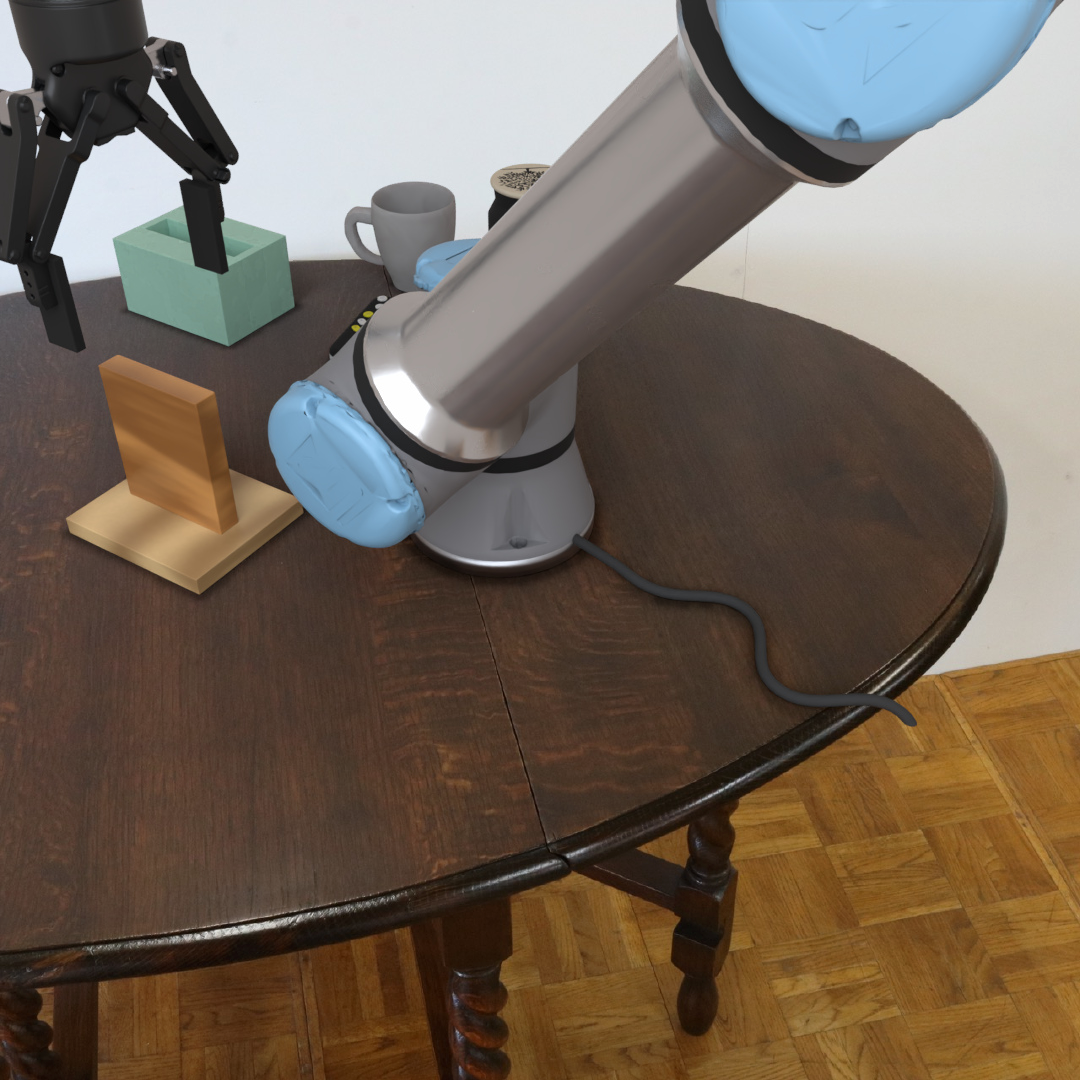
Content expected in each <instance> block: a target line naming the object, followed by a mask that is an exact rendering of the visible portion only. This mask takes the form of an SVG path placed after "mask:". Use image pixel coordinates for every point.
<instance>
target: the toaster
mask: <svg viewBox="0 0 1080 1080" xmlns="http://www.w3.org/2000/svg"><path fill="white" fill-rule="evenodd" d="M221 227H222V233H223V239H224V245H225V250H226V256H227V262H228V268H229V271H228V272H226V273H224V274H223V275H221V274H218V273H215V272H211V271H208V270H205V269H202V268H199V267H196V266H195V264H194V259H193V254H192V248H191V243H190V238H189V232H188V227H187V222H186V216H185V211H184V206H183V204H182V205H180V206H178V207H176V208H174V209H172V210H170V211H167V212H165V213H163V214H161V215H160V216H157V217H155V218H153V219H151V220H149V221H147V222H145V223H142V224H140V225H139V226H136V227H133V228H132V229H129V230H127V231H125V232H123V233H120V234H119V235H116V236H114V237H113V238H112V243H113V249H114V252H115V257H116V261H117V266H118V269H119V275H120V278H121V283H122V288H123V292H124V297H125V301H126V306H127V310H128V311H130V312H132V313H135V314H137V315H141V316H143V317H147V318H149V319H151V320H155V321H158V322H160V323H162V324H165V325H168V326H171V327H174V328H176V329H180V330H182V331H185V332H188V333H191V334H193V335H196V336H199V337H202V338H205V339H207V340H210V341H213V342H215V343H218V344H220V345H224V346H225V347H230V346H232V345H234V344H235V343H237V342H239V341H240V340H242V339H243V338H245V337H247V336H248V335H250V334H252V333H253V332H255V331H257V330H259V329H260V328H262V327H264V326H265V325H267V324H269V323H270V322H272V321H273V320H275V319H277V318H279V317H280V316H282V315H284V314H286V313H287V312H289V311H290V310H292V309H294V308H295V298H294V297H295V296H294V290H293V283H292V274H291V267H290V260H289V259H290V258H289V251H288V250H289V249H288V242H287V235H285V234H282V233H279V232H276V231H272V230H268V229H265V228H262V227H258V226H255V225H252V224H248V223H246V222H243V221H239V220H236V219H232V218H229V217H226V216H225V217H224V221H223V222H221Z"/></svg>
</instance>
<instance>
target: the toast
mask: <svg viewBox="0 0 1080 1080" xmlns="http://www.w3.org/2000/svg"><path fill="white" fill-rule="evenodd" d="M98 370H99V375H100V378H101V381H102V385H103V389H104V394H105V397H106V402H107V406H108V411H109V414H110V419H111V422H112V426H113V429H114V434H115V438H116V441H117V445H118V449H119V453H120V458H121V461H122V466H123V470H124V474H125V477H126V478H125V479H127V482H128V486H129V490H130V493H131V494H133V495H135V496H137V497H139V498H141V499H144V500H146V501H148V502H150V503H152V504H155V505H157V506H159V507H161V508H163V509H166V510H168V511H170V512H172V513H174V514H177V515H179V516H181V517H183V518H186V519H188V520H190V521H192V522H194V523H197V524H199V525H201V526H203V527H205V528H208V529H210V530H212V531H214V532H216V533H219V534H223V533H224V532H226V531H227V530H228V529H230V528H231V527H232V526H234V525H235V524H236V523H238V516H237V510H236V505H235V499H234V494H233V488H232V483H231V477H230V472H229V469H230V468H229V463H228V462H229V461H228V457H227V451H226V445H225V439H224V434H223V429H222V422H221V418H220V417H221V416H220V413H219V406H218V402H217V396H216V392H215V391H213V390H210V389H208V388H205V387H203V386H200V385H197V384H195V383H192V382H190V381H188V380H185V379H182V378H180V377H177V376H175V375H172V374H170V373H167V372H164V371H162V370H159V369H157V368H154V367H153V366H152V367H151V366H149V365H146V364H144V363H141V362H139V361H136V360H134V359H131V358H128V357H126V356H123V355H122V354H121V355H120V354H116V355H114V356H112V357H111V358H108V359H107V360H105V361H103V362H101V363H100V364H98Z"/></svg>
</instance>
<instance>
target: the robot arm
mask: <svg viewBox="0 0 1080 1080" xmlns="http://www.w3.org/2000/svg"><path fill="white" fill-rule="evenodd" d="M7 1H8V4H9V5H8V6H9V9H10V12H11V16H12V20H13V24H14V25H13V26H14V29H15V33H16V36H17V40H18V44H19V47H20V50H21V52H22V53H23V55H24V57H25V58H26V60H27V61H28V63H29V65H30V68H31V84H30V87H29V88H24V89H18V90H14V91H13V90H12V91H10V90H6V89H3V88H0V261H1V262H4V263H7V264H9V265H13V266H17V270H18V273H19V277H20V281H21V284H22V287H23V290H24V295H25V298H26V300H27V302H28V303H29V304H30V305H31V306H34V307H36V308H39V311H40V315H41V318H42V322H43V326H44V329H45V332H46V336H47V339H48V342H49V343H50V344H53V345H55V346H58V347H60V348H63V349H65V350H68V351H71V352H74V353H76V354H78V353H81V352H82V351H85V350H86V349H87V346H86V342H85V338H84V334H83V330H82V326H81V323H80V319H79V315H78V311H77V308H76V304H75V301H74V296H73V292H72V289H71V285H70V281H69V276H68V274H67V269H66V265H65V262H64V258H63V256H61V255H57V254H55V253H52V249H53V246H54V243H55V240H56V238H57V235H58V233H59V229H60V227H61V223H62V221H63V220H62V219H63V218H64V214H65V211H66V208H67V206H68V202H69V200H70V197H71V194H72V191H73V188H74V185H75V182H76V179H77V177H78V173H79V170H80V168H81V165H82V164H84V163H85V162H87V161H88V160H89V158H90V156H91V153H92V150H93V149H94V146H95V147H99V148H100V147H103V146H104V145H106V144H109V143H110V142H111V141H112V140H114V138H117V137H124V136H126V137H127V136H129V135H131V134H134V133H136V129H137V130H138V131H139V132H140V133H141V134H142V135H144V136H145V138H147V139H148V140H149V141H150V142H152V143H153V145H155V146H156V147H157V148H158V149H159V150H160V151H161V152H162V153H164V154H165V155H166V156H168V158H170V159H171V161H172V162H174V163H175V164H176V165H177V166H179V168H180V169H182V170H183V171H184V172H185V173H186V174H187V175H189V176H191V178H187V177H186V178H184V179H181V180H178V183H179V190H180V195H181V200H182V205H183V206H184V211H185V216H186V222H187V227H188V232H189V238H190V243H191V248H192V254H193V259H194V264H195V266H196V267H199V268H202V269H205V270H208V271H211V272H215V273H218V274H221V275H223V274H224V273H226V272H228V271H229V268H228V262H227V256H226V250H225V245H224V239H223V233H222V227H221V222H223V221H224V217H226V212H225V206H224V201H223V195H222V188H221V185H227V184H229V182H230V181H231V179H232V178H231V177H232V172H231V169H229V168H228V166H229V165H230V166H235V165H236V164H237V163H238V162H239V158H240V154H239V150H238V149H237V147H236V145H235V144H234V142H233V140H232V139H231V137H230V136H229V134H228V132H227V130H226V129H225V127H224V125H223V124H222V122H221V120H220V119H219V117H218V115H217V114H216V112H215V110H214V108H213V107H212V105H211V103H210V102H209V100H208V98H207V97H206V94H205V93H204V92H203V90H202V89H201V87H200V85H199V83H198V82H197V80H196V78H195V76H194V75H193V73H192V70H191V65H190V62H189V57H188V53H187V49H186V47H185V45H184V43H183V42H180V41H176V40H170V39H167V38H161V37H157V36H149V31H148V26H147V25H148V24H147V21H146V16H145V10H144V4H143V0H7ZM1064 1H1065V0H675V12H676V30H677V33H676V35H675V36H674V37H673V38H672V39H671V40H670V41H669V42H668V44H667V45H666V46H665V47H664V48H662V50H661V51H660V52H659V53H658V54H657V55H656V56H655V57H654V58H653V59H652V60H651V61H650V62H649V63H648V65H646V66H645V68H643V70H642V71H641V72H639V74H637V76H635V78H634V79H633V80H632V81H630V83H629V84H628V85H627V86H626V87H625V88H624V89H623V90H622V92H620V94H619V95H618V96H617V97H615V98H614V100H612V102H611V103H610V104H609V105H608V106H607V107H606V108H605V109H604V110H603V111H602V113H600V115H598V116H597V118H596V119H595V120H593V121H592V123H591V124H590V125H589V126H588V127H587V128H586V129H585V130H583V132H582V133H581V134H580V135H579V136H578V138H576V139H575V140H574V141H573V142H572V143H571V145H569V146H568V148H567V149H566V150H565V151H564V152H563V153H562V154H561V155H560V156H559V157H558V158H557V159H556V160H555V161H554V162H553V163H552V165H550V166H551V167H550V168H549V169H548V170H547V171H546V172H545V173H544V174H543V175H542V176H541V177H540V178H539V179H538V180H537V181H536V182H535V183H534V184H533V185H532V186H531V187H530V189H529V190H528V191H527V192H526V193H525V194H524V195H523V196H522V197H521V198H520V199H519V200H518V201H517V202H516V203H515V204H514V205H513V206H512V207H511V208H510V209H509V210H508V211H507V212H506V214H505V215H504V216H503V217H502V218H501V219H500V220H499V221H498V222H497V223H496V224H495V225H494V226H493V227H492V228H491V229H490V230H489V231H488V230H487V232H486V233H485V234H484V235H483V236H482V237H481V238H480V237H479V238H462V239H454V241H449V242H445V243H441V244H438V245H436V246H433V247H431V248H429V249H428V250H426V251H425V252H423V253H422V255H421V256H420V257H419V258H418V260H417V263H416V272H415V275H414V276H413V277H414V284H415V285H416V291H417V292H404V293H400V294H397V295H395V296H392V297H393V298H391V299H389V300H388V301H387V302H386V303H384V304H383V305H382V306H381V307H380V308H378V310H377V311H376V312H375V313H374V314H373V315H372V316H371V317H370V318H369V319H368V320H367V321H366V322H365V324H364V325H363V326H362V327H361V328H360V329H359V330H358V331H357V332H356V333H355V334H354V335H353V336H352V338H351V339H350V340H349V341H348V342H347V343H346V344H345V345H344V346H343V347H342V348H341V349H340V351H339V352H338V353H337V354H336V355H334V356H333V357H332V358H331V359H330V358H329V360H328V361H327V362H325V363H324V364H323V365H321V367H320V368H319V369H317V370H316V371H314V372H313V373H312V374H311V375H309V376H307V377H306V378H305V379H302V380H297V381H295V382H293V383H292V384H291V385H290V386H289V388H288V390H287V392H286V393H284V394H283V395H282V396H281V397H280V398H279V399H278V400H277V401H276V402H275V404H274V405H273V407H272V409H271V411H270V413H269V417H268V423H267V438H268V445H269V448H270V451H271V453H272V455H273V458H274V459H275V466H276V468H277V470H278V472H279V475H280V476H281V478H282V480H283V481H284V483H285V484H286V486H287V488H288V489H289V491H290V492H291V493H292V495H293V496H295V497H296V499H297V500H298V501H299V502H300V503H301V505H302V506H303V509H305V510H306V511H307V512H308V513H309V514H310V515H311V516H312V518H314V519H315V520H316V522H318V523H319V524H321V525H322V526H323V527H324V528H326V529H327V530H329V531H330V532H332V533H333V534H334V535H336V536H338V537H340V538H344V539H347V540H348V541H349V542H351V543H353V544H355V545H358V546H361V547H366V548H371V549H385V548H390V547H393V546H395V545H397V544H399V543H401V542H402V541H403V540H405V539H406V538H407V537H408V536H410V538H411V540H412V542H413V543H414V545H415V546H416V547H417V548H418V550H420V552H422V554H423V555H425V556H426V557H428V558H429V559H431V560H432V561H434V562H435V563H436V564H439V565H441V566H443V567H445V568H447V569H450V570H453V571H456V572H458V573H462V574H466V575H471V576H477V577H486V578H513V577H522V576H523V577H524V576H528V575H533V574H537V573H540V572H543V571H547V570H549V569H552V568H554V567H557V566H559V565H560V564H562V563H565V562H566V561H567V560H569V559H571V558H572V557H574V556H575V555H576V554H577V553H578V552H579V551H580V550H582V551H584V552H586V553H587V554H588V555H590V556H591V557H593V558H595V559H596V560H598V561H599V562H601V563H603V564H604V565H606V566H608V567H609V568H610V569H612V570H613V571H614V572H616V573H617V574H619V575H620V576H621V577H623V578H624V579H625V580H626V581H628V582H629V583H631V584H632V585H633V586H635V587H637V588H638V589H639V590H642V591H644V592H645V593H648V594H650V595H652V596H657V597H659V598H662V599H668V600H672V601H673V600H675V601H683V602H704V603H714V604H718V605H720V604H721V605H724V606H727V607H729V608H732V609H734V610H736V611H738V612H740V613H741V615H743V616H744V617H746V619H747V620H748V621H749V623H750V625H751V627H752V631H753V639H754V661H755V667H756V671H757V673H758V675H759V678H760V679H761V681H762V682H763V683H764V685H765V686H766V687H767V689H769V690H770V691H771V692H772V693H774V695H776V696H777V697H779V698H780V699H782V700H784V701H786V702H787V703H788V702H789V703H792V704H794V705H798V706H803V707H811V708H836V707H853V706H854V707H859V706H864V707H874V708H878V709H882V710H885V711H887V712H890V713H891V714H892V715H894V716H895V717H897V718H898V719H899V720H900V721H901V722H902V723H903V724H904V725H906V726H907V727H910V728H911V727H912V728H915V727H917V726H918V722H917V720H916V718H915V717H914V715H913V714H912V712H910V711H909V710H908V709H907V708H906V707H905V706H903V705H902V704H900V703H899V702H897V701H896V700H894V699H892V698H889V697H887V696H884V695H880V694H876V693H865V692H856V693H855V692H850V693H834V694H831V693H830V694H811V693H804V692H799V691H797V690H793V689H791V688H789V687H788V686H785V685H784V684H783V683H781V682H780V681H779V680H777V678H776V677H775V675H774V674H773V673H772V671H771V670H770V667H769V666H770V665H769V663H768V655H767V654H768V653H767V652H768V651H767V635H766V634H767V633H766V628H765V624H764V623H763V619H762V618H761V616H760V615H759V614H758V612H757V611H756V610H755V608H753V606H751V605H750V604H748V602H746V601H744V600H742V599H741V598H740V597H736V596H734V595H731V594H729V593H725V592H721V591H713V590H699V589H696V590H695V589H680V588H673V587H667V586H663V585H660V584H657V583H654V582H652V581H651V580H649V579H646V578H644V577H643V576H641V575H640V574H638V573H636V572H635V571H634V570H633V569H631V568H630V567H629V566H627V565H626V564H625V563H624V562H622V561H621V560H620V559H618V558H617V557H615V556H614V555H612V554H610V553H609V552H607V551H606V550H605V549H603V548H601V547H599V546H598V545H596V544H595V543H593V542H591V541H590V540H589V538H590V537H591V534H592V533H593V528H594V523H595V507H596V506H595V503H596V502H595V497H594V493H593V488H592V486H591V484H590V481H589V478H588V477H587V473H586V470H585V466H584V463H583V459H582V457H581V454H580V451H579V447H578V445H577V442H576V417H577V416H576V415H577V396H578V395H577V394H578V377H579V375H578V373H579V363H580V362H581V361H582V360H584V358H586V357H587V356H589V354H591V353H592V352H593V351H594V350H595V349H597V348H598V347H599V346H600V345H602V344H603V343H604V342H606V340H608V339H609V338H610V337H611V336H613V335H614V334H615V333H616V332H617V331H619V330H620V329H621V328H623V327H624V326H625V325H626V324H627V323H629V322H630V321H631V320H632V319H633V318H635V317H636V316H637V315H638V314H640V313H641V312H642V311H643V310H645V309H646V308H647V307H648V306H649V305H650V304H652V303H654V302H655V300H657V299H658V298H659V297H660V296H662V295H663V294H664V293H665V292H666V291H668V290H669V289H670V288H672V287H673V286H674V285H675V284H677V282H679V281H681V280H682V279H683V278H684V277H685V276H686V275H687V274H689V273H690V272H692V271H693V270H694V269H695V268H696V267H697V266H698V265H700V264H701V263H702V262H704V261H705V260H706V259H707V258H708V257H710V256H711V255H712V254H714V253H715V252H716V251H717V250H718V249H719V248H720V247H722V246H723V245H724V244H726V243H727V242H728V241H729V240H731V238H733V237H734V236H735V235H737V233H739V232H740V231H742V230H743V229H744V228H745V227H746V226H747V225H748V224H750V223H751V222H752V221H754V220H755V219H756V218H758V217H759V216H760V215H761V214H762V213H764V212H765V211H766V210H768V208H769V207H771V206H772V205H773V204H774V203H775V202H777V201H778V200H780V199H781V198H782V197H783V196H785V195H786V194H787V193H788V192H789V191H790V190H792V189H793V188H794V187H795V186H797V185H798V184H799V183H803V184H807V185H811V186H816V187H817V186H818V187H822V188H831V189H835V188H843V187H846V186H848V185H851V184H853V183H854V182H855V181H857V180H858V179H859V178H860V177H863V175H864V174H866V173H867V172H868V171H869V170H871V169H872V168H873V167H875V166H876V165H877V164H878V163H880V162H881V161H883V160H884V159H885V158H887V156H889V155H890V154H891V153H892V152H894V151H895V150H897V149H898V148H899V147H901V146H902V145H903V144H904V143H906V142H907V141H908V140H910V139H911V138H912V137H914V136H915V135H916V134H917V133H920V132H923V131H925V130H929V129H933V128H934V127H935V126H936V125H937V124H938V123H940V122H942V121H943V120H949V119H952V118H954V117H956V116H957V115H960V113H962V112H964V111H966V109H969V108H970V107H972V106H973V105H974V104H975V103H977V102H978V101H980V99H982V98H983V97H984V96H985V95H986V94H988V93H989V92H990V91H991V90H992V89H993V88H995V87H996V86H997V85H998V84H999V83H1000V82H1001V81H1002V80H1003V79H1004V78H1005V77H1006V76H1007V75H1008V74H1009V73H1010V72H1012V70H1013V69H1014V68H1015V67H1016V66H1017V65H1018V63H1019V62H1020V61H1021V60H1022V58H1023V57H1024V56H1025V54H1026V53H1027V52H1028V51H1029V49H1030V48H1031V46H1032V45H1033V44H1034V42H1035V41H1036V39H1037V38H1038V36H1039V34H1040V32H1041V31H1042V29H1043V28H1044V25H1045V24H1046V23H1047V21H1048V19H1049V18H1050V17H1051V15H1052V14H1053V13H1054V12H1055V11H1056V9H1057V8H1058V7H1059V6H1060V5H1061V4H1062V3H1063V2H1064ZM153 77H154V79H155V81H156V83H157V85H158V87H159V89H160V90H161V91H162V93H163V95H164V96H165V98H166V99H167V101H168V103H169V105H170V106H171V107H172V110H173V111H174V112H175V113H176V115H177V117H178V118H179V120H180V121H181V123H182V125H183V126H184V128H185V130H186V131H187V133H188V134H189V135H188V134H187V133H186V132H185V131H184V130H183V129H182V128H181V127H180V126H179V125H177V124H176V123H175V122H174V121H173V120H172V119H171V118H170V117H169V115H170V114H169V112H168V111H167V110H165V108H163V107H162V106H161V105H160V104H159V102H157V101H156V100H155V99H154V98H153V97H152V96H151V95H150V94H149V89H150V86H151V83H152V79H153ZM40 113H42V114H44V116H43V118H42V117H41V116H40ZM38 127H39V130H38ZM62 134H64V135H66V137H68V138H69V139H71V140H69V141H67V140H63V139H61V138H62Z"/></svg>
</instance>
